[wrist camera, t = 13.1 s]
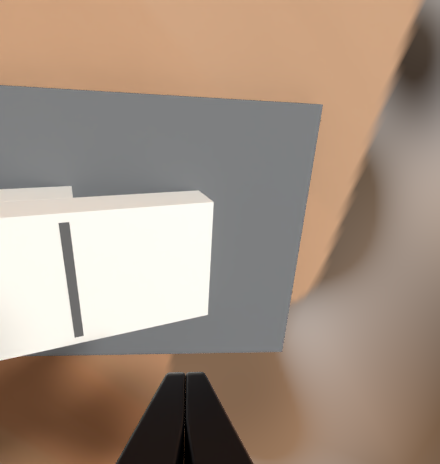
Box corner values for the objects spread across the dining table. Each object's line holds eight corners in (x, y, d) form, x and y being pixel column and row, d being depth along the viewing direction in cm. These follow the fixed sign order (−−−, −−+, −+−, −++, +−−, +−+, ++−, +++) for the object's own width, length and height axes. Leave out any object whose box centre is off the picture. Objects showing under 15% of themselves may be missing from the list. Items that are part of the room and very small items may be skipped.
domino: (207, 315, 14) (-99, 382, 10) (194, 294, 15) (-79, 346, 11) (213, 202, 12) (-164, 230, 8) (198, 190, 13) (-130, 209, 9)
